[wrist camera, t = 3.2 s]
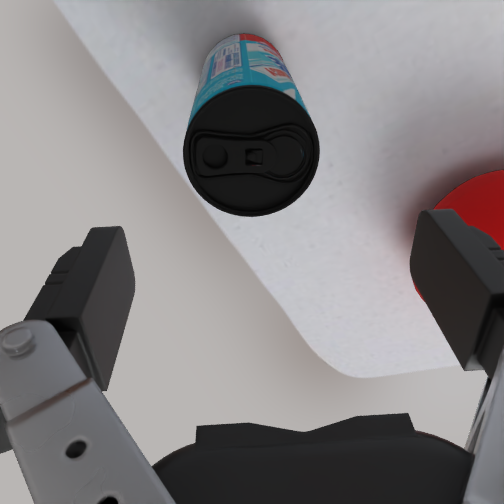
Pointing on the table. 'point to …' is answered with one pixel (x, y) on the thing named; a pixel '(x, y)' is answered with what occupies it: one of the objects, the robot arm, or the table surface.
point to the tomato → (479, 205)
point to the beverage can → (249, 131)
